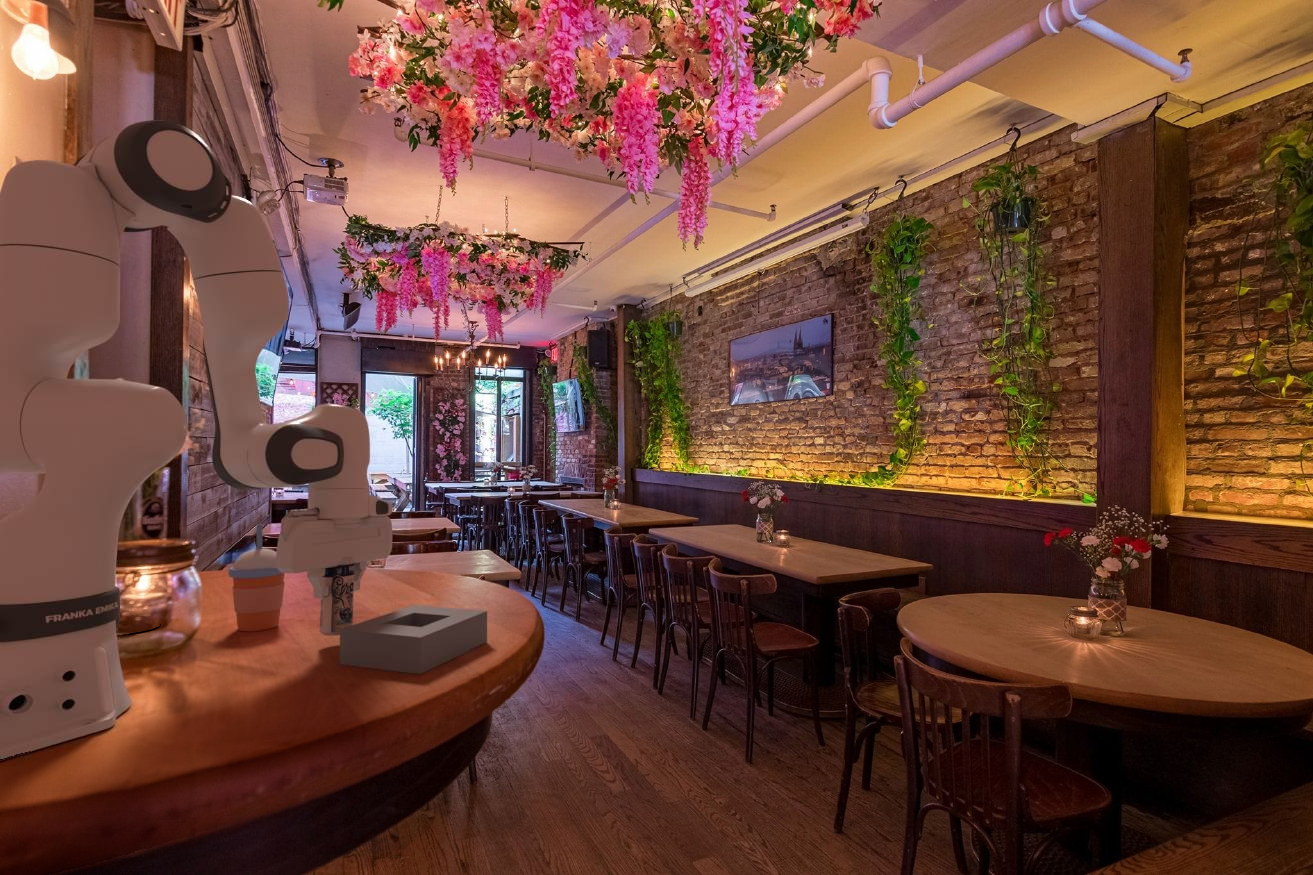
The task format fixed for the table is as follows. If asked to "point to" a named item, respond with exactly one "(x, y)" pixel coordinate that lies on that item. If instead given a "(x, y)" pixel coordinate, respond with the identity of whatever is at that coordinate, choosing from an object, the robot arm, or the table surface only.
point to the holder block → (413, 638)
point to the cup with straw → (257, 588)
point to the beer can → (338, 598)
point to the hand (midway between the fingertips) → (337, 594)
